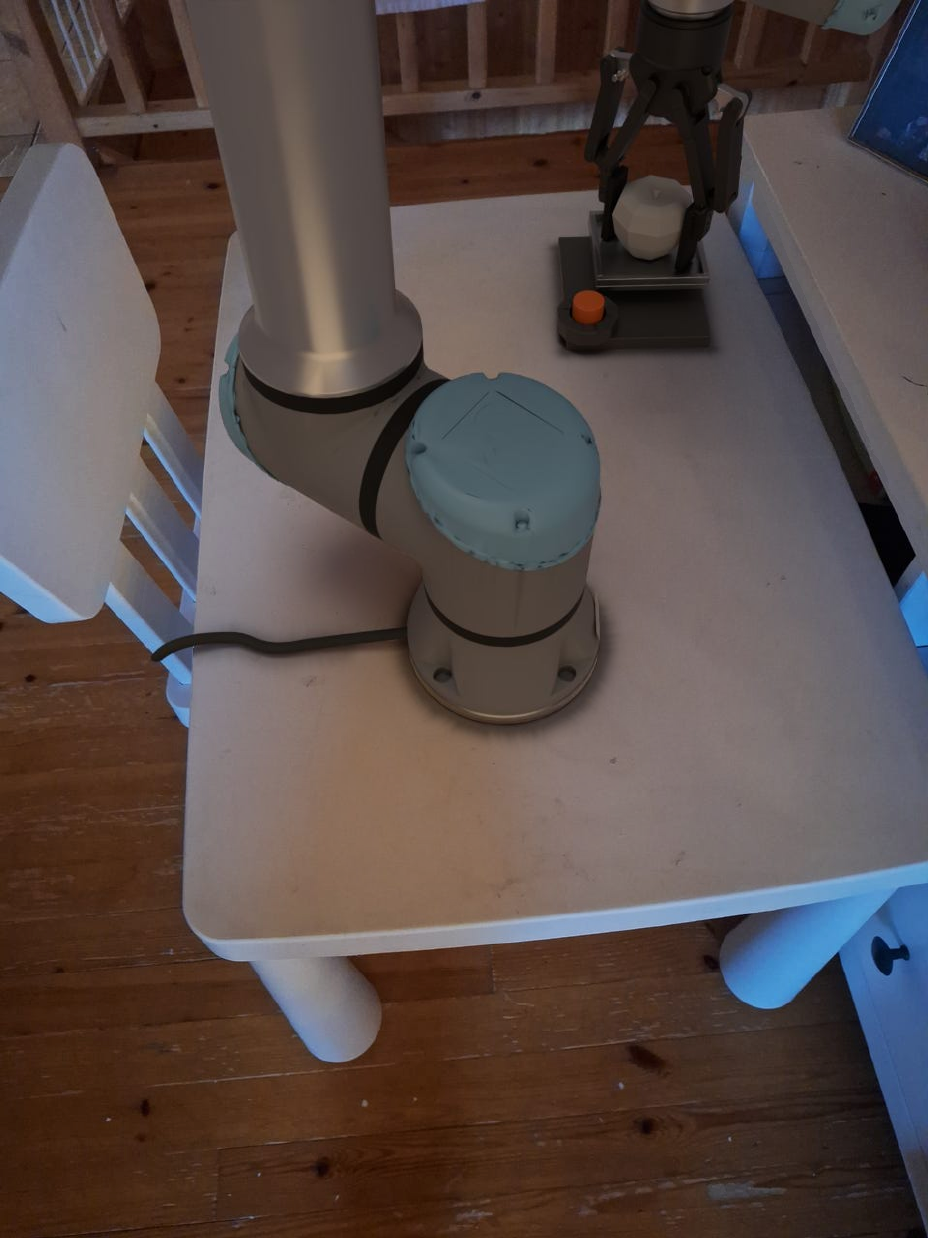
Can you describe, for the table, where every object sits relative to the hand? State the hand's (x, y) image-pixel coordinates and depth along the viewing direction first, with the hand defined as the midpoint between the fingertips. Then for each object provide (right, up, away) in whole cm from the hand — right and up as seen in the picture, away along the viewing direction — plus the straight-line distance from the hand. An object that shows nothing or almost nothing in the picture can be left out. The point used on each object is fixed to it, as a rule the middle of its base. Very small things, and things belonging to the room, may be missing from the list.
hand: (646, 247), depth 91 cm
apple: (0, 0, 0) cm, 0 cm away
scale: (-1, -4, +2) cm, 5 cm away
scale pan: (0, -1, +1) cm, 1 cm away
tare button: (-7, -8, -3) cm, 11 cm away
